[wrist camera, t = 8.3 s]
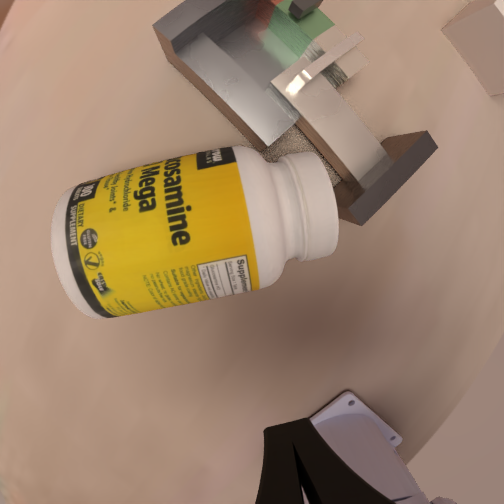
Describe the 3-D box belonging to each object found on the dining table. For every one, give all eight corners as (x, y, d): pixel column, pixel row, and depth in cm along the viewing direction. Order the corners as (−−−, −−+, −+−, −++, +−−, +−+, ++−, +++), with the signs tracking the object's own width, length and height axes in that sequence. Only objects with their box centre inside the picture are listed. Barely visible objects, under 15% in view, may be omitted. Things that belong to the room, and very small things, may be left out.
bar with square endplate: (404, 144, 17) (445, 139, 13) (330, 215, 17) (361, 226, 13) (323, 47, 15) (350, 18, 11) (239, 113, 15) (246, 93, 12)
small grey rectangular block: (318, 6, 12) (324, -2, 11) (298, 19, 12) (303, 11, 11) (308, -3, 11) (313, -12, 11) (287, 9, 12) (292, 1, 11)
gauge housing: (347, 77, 16) (384, 52, 11) (259, 152, 16) (274, 143, 12) (260, -7, 14) (272, -50, 10) (167, 60, 15) (152, 25, 10)
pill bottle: (62, 162, 12) (300, 106, 13) (110, 240, 18) (296, 200, 18) (32, 278, 9) (361, 206, 10) (108, 341, 14) (333, 295, 15)
